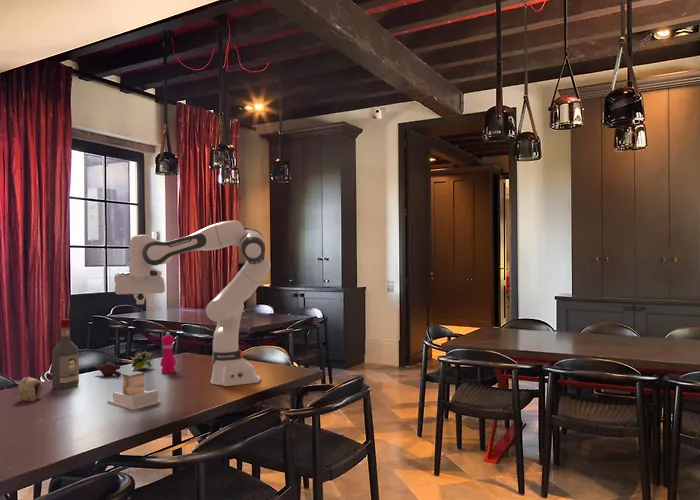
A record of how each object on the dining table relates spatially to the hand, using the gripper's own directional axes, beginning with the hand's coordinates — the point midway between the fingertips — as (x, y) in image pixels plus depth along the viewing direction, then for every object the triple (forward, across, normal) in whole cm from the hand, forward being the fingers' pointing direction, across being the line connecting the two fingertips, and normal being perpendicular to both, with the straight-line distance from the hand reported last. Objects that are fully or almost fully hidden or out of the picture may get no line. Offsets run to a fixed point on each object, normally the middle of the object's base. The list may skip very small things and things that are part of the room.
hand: (140, 304), depth 235 cm
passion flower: (+37, -5, +47) cm, 60 cm away
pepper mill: (+37, +8, +36) cm, 53 cm away
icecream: (+37, -20, +36) cm, 56 cm away
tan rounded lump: (+37, -42, -3) cm, 56 cm away
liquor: (+37, -34, +17) cm, 53 cm away
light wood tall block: (+36, 0, -20) cm, 41 cm away
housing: (+37, 0, -21) cm, 42 cm away
